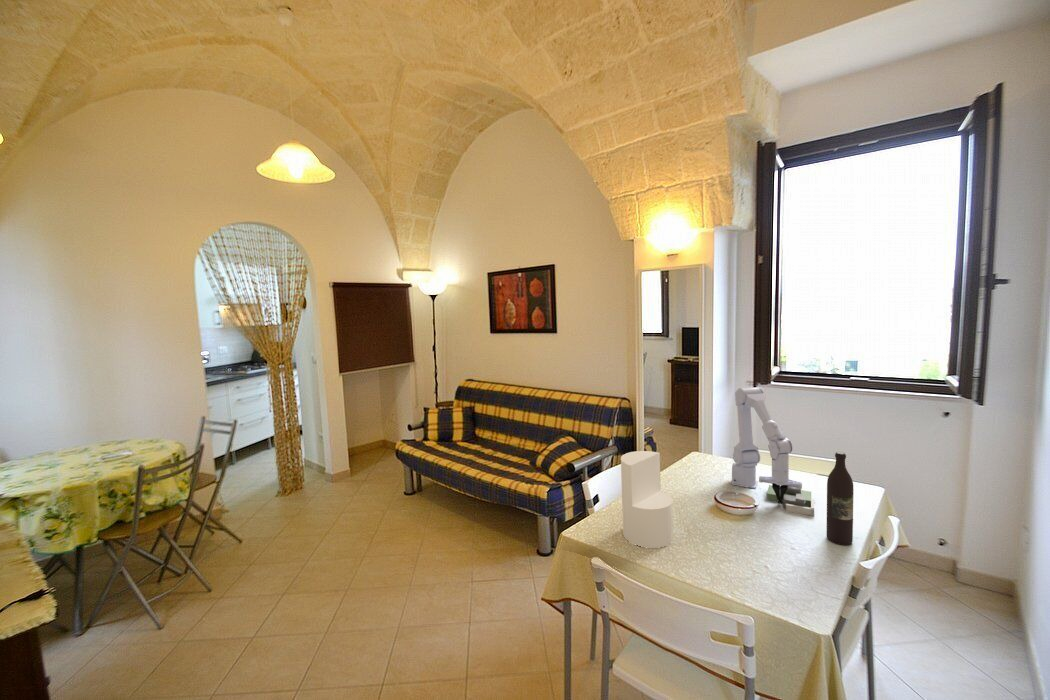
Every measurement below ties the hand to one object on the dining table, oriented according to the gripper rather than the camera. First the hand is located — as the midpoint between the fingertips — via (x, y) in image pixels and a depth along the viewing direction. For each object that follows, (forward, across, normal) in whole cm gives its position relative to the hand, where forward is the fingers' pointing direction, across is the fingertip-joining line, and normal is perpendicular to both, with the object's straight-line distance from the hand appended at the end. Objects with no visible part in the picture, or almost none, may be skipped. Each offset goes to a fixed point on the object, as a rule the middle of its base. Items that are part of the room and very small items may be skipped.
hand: (780, 502), depth 170 cm
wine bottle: (+1, +18, -20) cm, 27 cm away
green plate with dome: (+1, +3, +4) cm, 5 cm away
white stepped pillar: (+1, -38, -47) cm, 60 cm away
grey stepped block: (+1, +5, 0) cm, 5 cm away
